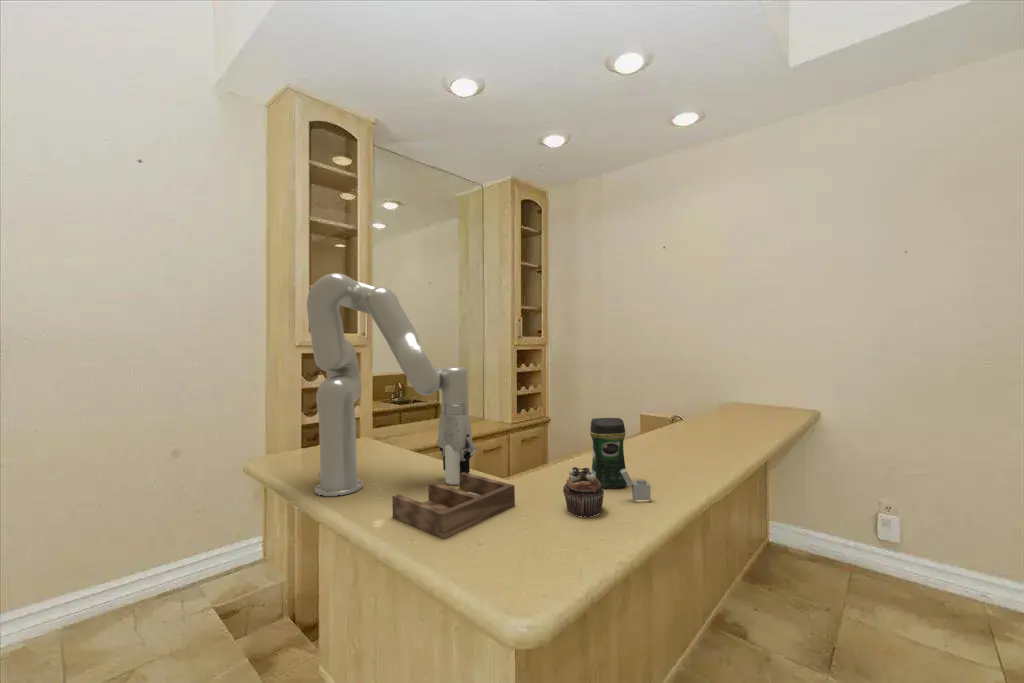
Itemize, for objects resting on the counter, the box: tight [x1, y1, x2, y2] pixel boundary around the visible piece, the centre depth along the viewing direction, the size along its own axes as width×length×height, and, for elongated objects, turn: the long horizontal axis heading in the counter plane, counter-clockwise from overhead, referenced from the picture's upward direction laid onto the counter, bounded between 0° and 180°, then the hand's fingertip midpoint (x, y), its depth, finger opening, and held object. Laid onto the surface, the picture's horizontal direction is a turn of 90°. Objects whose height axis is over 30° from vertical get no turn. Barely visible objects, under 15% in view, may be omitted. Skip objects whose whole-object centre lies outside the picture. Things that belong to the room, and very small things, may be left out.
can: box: [444, 442, 466, 486], centre depth 126 cm, size 6×6×12 cm
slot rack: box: [391, 472, 516, 540], centre depth 104 cm, size 18×23×5 cm
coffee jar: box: [589, 417, 628, 489], centre depth 121 cm, size 10×8×19 cm
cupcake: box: [562, 466, 605, 518], centre depth 103 cm, size 10×10×10 cm
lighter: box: [620, 468, 652, 501], centre depth 109 cm, size 7×2×8 cm, turn 87°
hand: (456, 470), depth 126 cm, fingers closed on can, 6 cm apart
